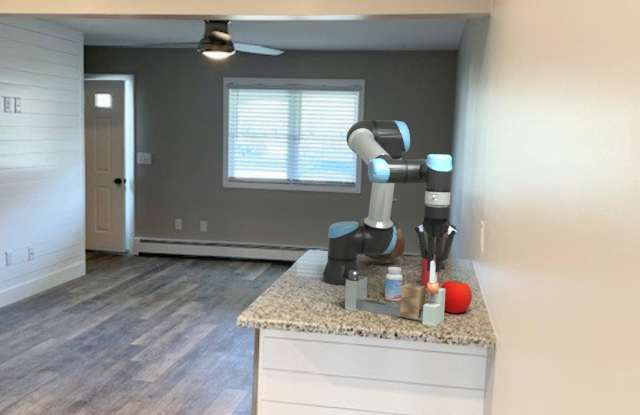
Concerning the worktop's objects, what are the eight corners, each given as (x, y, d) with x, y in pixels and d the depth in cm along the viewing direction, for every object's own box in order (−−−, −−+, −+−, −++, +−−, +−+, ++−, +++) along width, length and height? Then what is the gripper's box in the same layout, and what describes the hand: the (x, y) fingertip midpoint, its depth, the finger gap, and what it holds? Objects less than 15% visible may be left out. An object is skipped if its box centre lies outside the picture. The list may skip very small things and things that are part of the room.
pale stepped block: (422, 324, 185) (424, 292, 184) (431, 317, 192) (433, 286, 191) (434, 326, 183) (436, 294, 182) (443, 319, 190) (445, 288, 189)
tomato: (441, 305, 207) (442, 275, 205) (472, 310, 203) (474, 278, 201) (434, 313, 197) (436, 281, 196) (467, 318, 193) (469, 285, 192)
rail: (344, 309, 198) (346, 270, 197) (355, 304, 205) (356, 266, 204) (422, 323, 185) (424, 282, 184) (431, 317, 192) (433, 277, 191)
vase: (368, 257, 288) (370, 195, 285) (408, 261, 281) (411, 198, 278) (354, 266, 266) (357, 199, 263) (397, 271, 260) (400, 202, 257)
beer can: (438, 288, 231) (439, 257, 230) (420, 287, 232) (422, 256, 231) (438, 284, 238) (439, 254, 236) (421, 283, 239) (422, 253, 238)
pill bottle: (397, 302, 209) (398, 270, 208) (381, 299, 213) (383, 268, 211) (404, 298, 214) (406, 267, 213) (389, 296, 218) (390, 265, 216)
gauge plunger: (425, 299, 184) (425, 283, 184) (428, 296, 187) (429, 281, 187) (435, 300, 183) (436, 284, 182) (439, 298, 185) (440, 282, 185)
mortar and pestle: (451, 265, 275) (453, 222, 273) (454, 270, 266) (457, 225, 264) (425, 264, 276) (428, 221, 273) (428, 268, 267) (430, 224, 265)
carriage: (400, 316, 190) (401, 286, 189) (406, 312, 195) (407, 283, 194) (418, 319, 187) (419, 289, 186) (424, 315, 192) (425, 286, 191)
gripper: (412, 204, 182) (408, 281, 184) (454, 208, 175) (450, 287, 178) (420, 203, 188) (417, 277, 191) (461, 206, 182) (457, 282, 184)
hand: (433, 282), depth 184 cm, fingers closed
